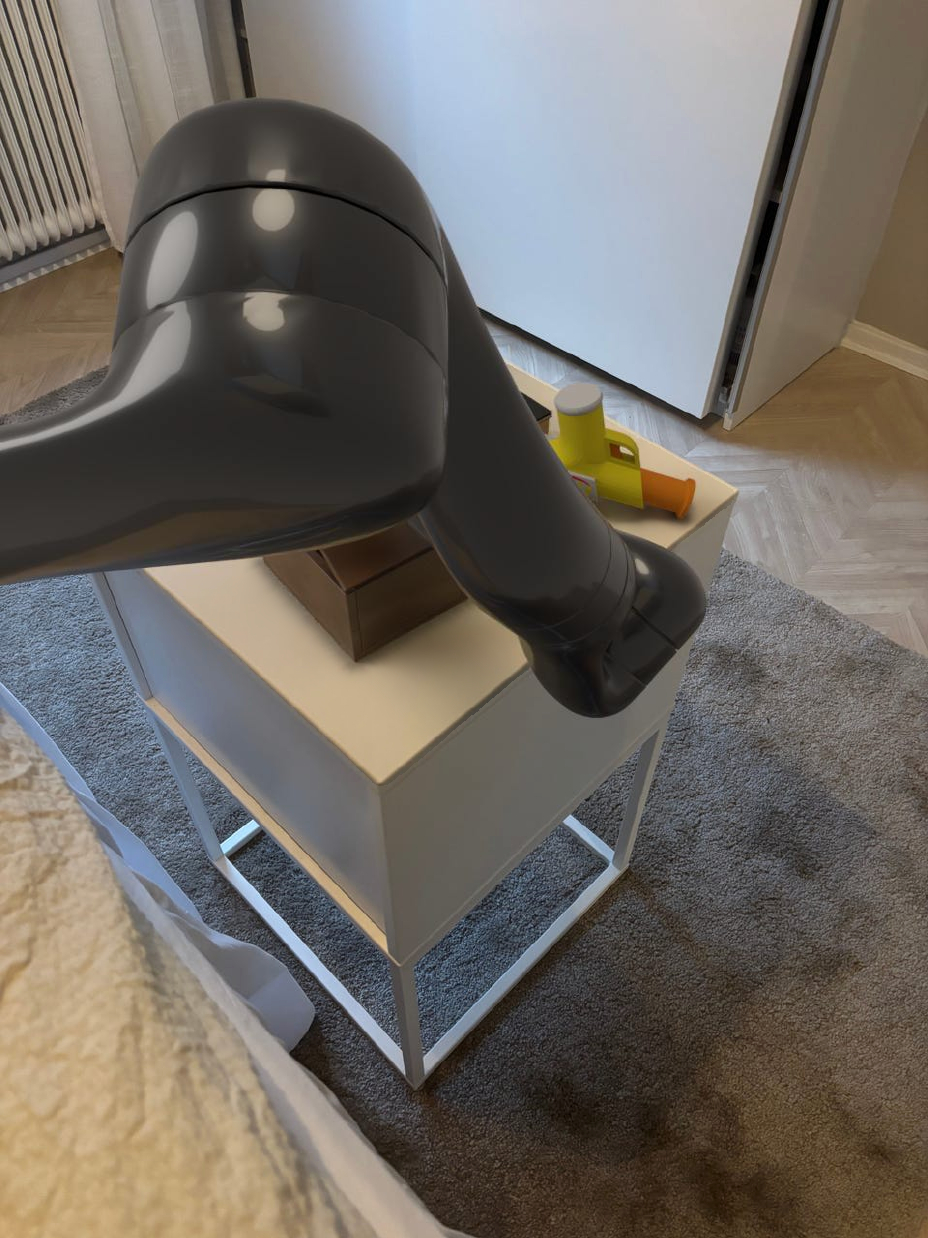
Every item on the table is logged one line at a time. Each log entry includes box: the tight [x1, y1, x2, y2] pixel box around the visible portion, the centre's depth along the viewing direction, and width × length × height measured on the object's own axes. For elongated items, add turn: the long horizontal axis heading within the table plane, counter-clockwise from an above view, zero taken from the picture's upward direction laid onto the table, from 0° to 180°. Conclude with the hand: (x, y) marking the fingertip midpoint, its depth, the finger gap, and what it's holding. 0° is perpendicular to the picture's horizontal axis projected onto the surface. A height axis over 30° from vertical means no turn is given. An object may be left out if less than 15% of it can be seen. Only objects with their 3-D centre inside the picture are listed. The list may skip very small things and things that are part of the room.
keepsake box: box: [262, 547, 469, 663], centre depth 80 cm, size 15×12×8 cm
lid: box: [319, 524, 431, 592], centre depth 73 cm, size 15×12×1 cm
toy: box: [545, 382, 697, 519], centre depth 85 cm, size 5×15×10 cm, turn 84°
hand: (302, 363), depth 72 cm, fingers closed
